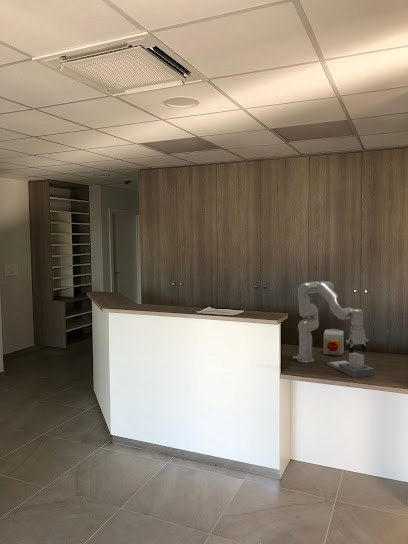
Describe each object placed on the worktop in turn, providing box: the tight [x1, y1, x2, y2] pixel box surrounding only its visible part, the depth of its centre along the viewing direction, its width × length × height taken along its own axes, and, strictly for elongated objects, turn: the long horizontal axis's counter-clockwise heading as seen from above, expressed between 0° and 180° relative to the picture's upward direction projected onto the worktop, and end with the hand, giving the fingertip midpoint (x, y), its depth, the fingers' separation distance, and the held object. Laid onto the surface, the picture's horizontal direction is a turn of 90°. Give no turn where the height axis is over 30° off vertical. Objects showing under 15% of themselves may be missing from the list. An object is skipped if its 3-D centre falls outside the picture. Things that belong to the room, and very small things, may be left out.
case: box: [325, 360, 376, 379], centre depth 319 cm, size 16×34×4 cm, turn 16°
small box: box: [348, 352, 365, 369], centre depth 311 cm, size 8×6×13 cm
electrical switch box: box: [323, 328, 345, 356], centre depth 360 cm, size 14×15×20 cm
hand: (357, 352), depth 310 cm, fingers open, 9 cm apart
